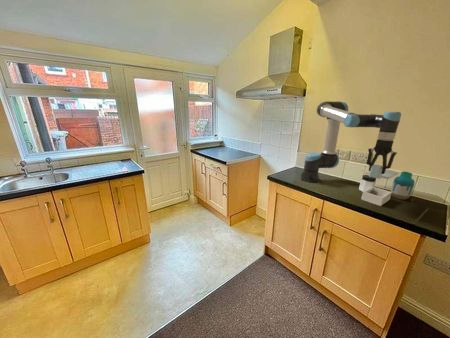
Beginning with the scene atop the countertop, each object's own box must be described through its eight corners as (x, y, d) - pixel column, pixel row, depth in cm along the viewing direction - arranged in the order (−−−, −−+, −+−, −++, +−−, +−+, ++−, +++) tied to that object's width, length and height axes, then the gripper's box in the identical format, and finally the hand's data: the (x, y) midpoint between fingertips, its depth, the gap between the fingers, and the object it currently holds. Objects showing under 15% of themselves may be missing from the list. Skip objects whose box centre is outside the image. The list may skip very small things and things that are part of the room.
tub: (360, 200, 129) (363, 191, 127) (370, 194, 138) (372, 186, 136) (380, 207, 120) (382, 197, 118) (389, 200, 129) (392, 192, 127)
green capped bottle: (412, 203, 126) (421, 176, 120) (392, 200, 130) (401, 174, 124) (404, 196, 136) (412, 171, 130) (386, 194, 139) (393, 169, 133)
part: (370, 196, 133) (371, 192, 132) (370, 195, 135) (371, 190, 134) (376, 198, 130) (377, 193, 129) (376, 196, 133) (378, 192, 132)
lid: (362, 176, 120) (365, 163, 118) (376, 170, 132) (379, 159, 129) (385, 182, 111) (389, 169, 108) (398, 175, 123) (401, 163, 120)
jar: (369, 194, 137) (373, 179, 134) (356, 190, 144) (360, 176, 140) (374, 192, 142) (378, 177, 138) (362, 188, 149) (365, 174, 145)
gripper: (365, 137, 114) (356, 174, 121) (402, 142, 100) (389, 183, 108) (370, 137, 118) (361, 172, 125) (406, 141, 104) (394, 180, 112)
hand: (374, 177), depth 116 cm, fingers closed on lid, 4 cm apart
